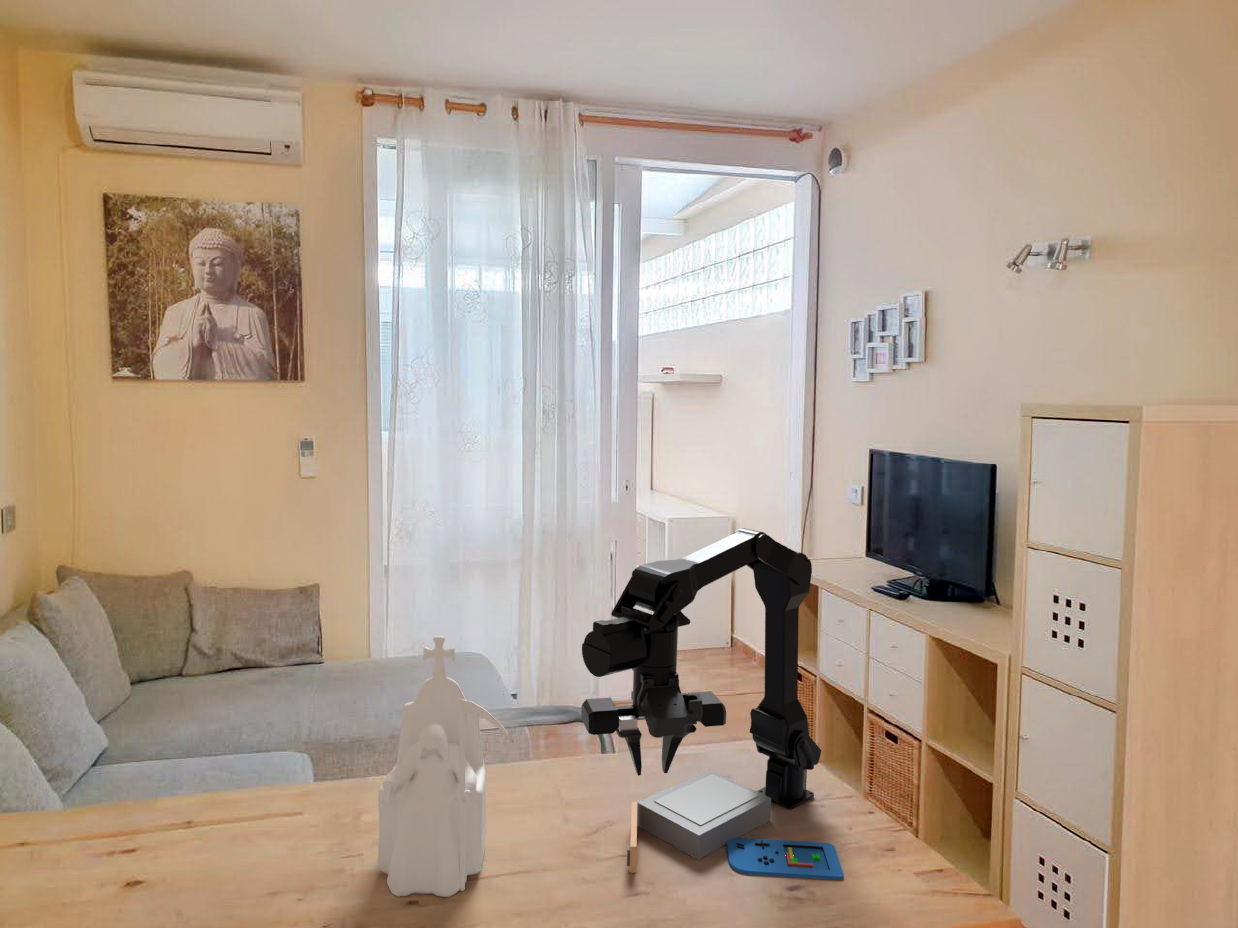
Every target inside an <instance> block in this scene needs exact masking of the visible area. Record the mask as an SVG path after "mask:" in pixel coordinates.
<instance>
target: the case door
mask: <svg viewBox="0 0 1238 928" xmlns="http://www.w3.org/2000/svg"><path fill="white" fill-rule="evenodd" d="M637 802H638V801H631V815H630V816H631V817H630V818H631V819H630V820H631V821H630V822H631V823H630V843H627V844H626V845H627V846H626V847H627V848H626V867H629V873H636V872H637V843H638V842H637V840H638V839H637V838H638V837H637V834H638V826H637Z"/></svg>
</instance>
